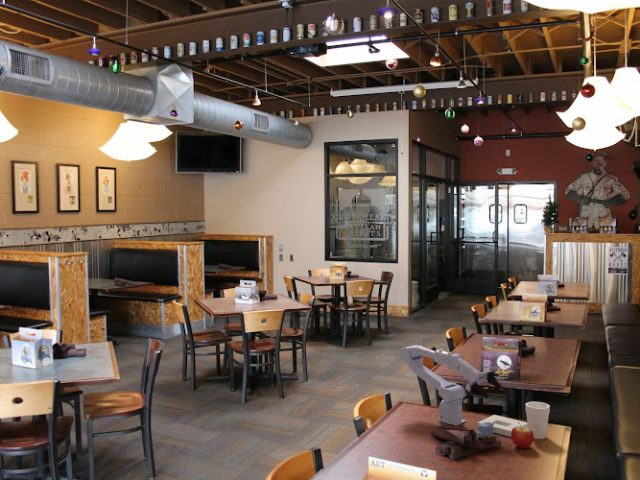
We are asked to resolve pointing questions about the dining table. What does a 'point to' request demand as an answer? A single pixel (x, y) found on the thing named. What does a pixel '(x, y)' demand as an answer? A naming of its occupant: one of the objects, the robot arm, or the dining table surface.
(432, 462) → the dining table surface
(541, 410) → the foam cup
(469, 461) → the dining table surface
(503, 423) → the chassis plate
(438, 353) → the robot arm
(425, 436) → the dining table surface
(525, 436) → the apple
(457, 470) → the dining table surface
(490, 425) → the servo
